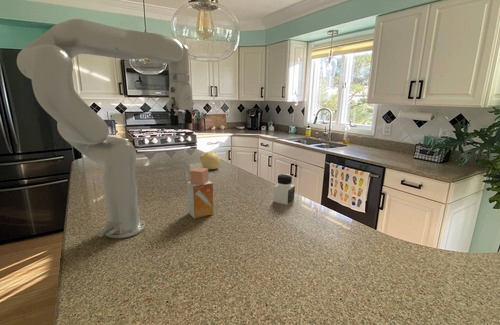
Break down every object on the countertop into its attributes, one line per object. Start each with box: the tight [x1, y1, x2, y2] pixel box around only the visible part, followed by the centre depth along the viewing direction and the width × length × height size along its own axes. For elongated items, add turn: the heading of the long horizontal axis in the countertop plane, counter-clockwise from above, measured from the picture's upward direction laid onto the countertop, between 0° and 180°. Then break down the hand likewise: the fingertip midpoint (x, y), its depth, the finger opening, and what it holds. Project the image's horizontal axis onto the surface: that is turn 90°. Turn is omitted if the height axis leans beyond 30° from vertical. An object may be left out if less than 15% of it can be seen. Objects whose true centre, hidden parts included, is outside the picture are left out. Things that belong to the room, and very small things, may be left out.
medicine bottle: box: [272, 173, 296, 206], centre depth 114 cm, size 7×7×12 cm
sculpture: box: [199, 151, 221, 170], centre depth 165 cm, size 12×12×11 cm
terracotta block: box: [189, 167, 210, 185], centre depth 98 cm, size 5×5×5 cm
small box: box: [186, 180, 214, 220], centre depth 100 cm, size 8×6×13 cm
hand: (181, 124), depth 103 cm, fingers open, 9 cm apart
